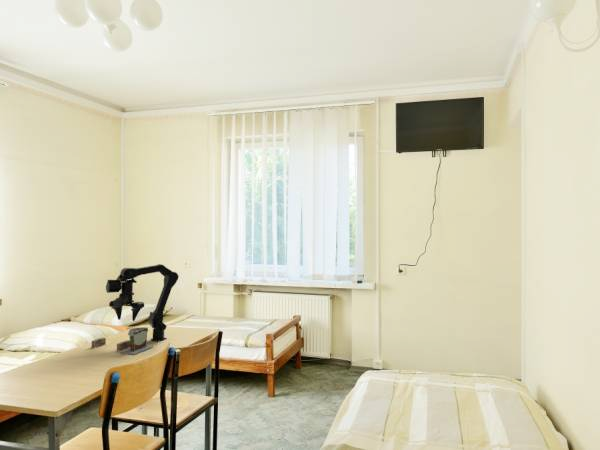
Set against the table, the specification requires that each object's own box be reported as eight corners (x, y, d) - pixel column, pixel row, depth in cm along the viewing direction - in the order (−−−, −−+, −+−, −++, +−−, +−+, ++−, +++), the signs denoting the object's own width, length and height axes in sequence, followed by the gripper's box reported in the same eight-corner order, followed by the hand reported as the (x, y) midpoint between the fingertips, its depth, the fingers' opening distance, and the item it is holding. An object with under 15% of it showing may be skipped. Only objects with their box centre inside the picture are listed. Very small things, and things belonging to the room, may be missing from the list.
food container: (138, 345, 242) (138, 326, 242) (148, 346, 240) (148, 327, 241) (122, 350, 231) (122, 331, 231) (132, 352, 229) (132, 332, 229)
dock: (102, 344, 246) (102, 337, 246) (130, 347, 240) (130, 340, 240) (91, 347, 238) (91, 340, 238) (120, 350, 233) (120, 344, 233)
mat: (138, 346, 243) (138, 344, 243) (153, 347, 240) (153, 346, 240) (119, 353, 229) (119, 352, 229) (134, 354, 226) (134, 353, 226)
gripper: (102, 292, 241) (101, 321, 241) (131, 294, 236) (131, 324, 236) (116, 289, 252) (116, 317, 252) (145, 291, 246) (144, 320, 246)
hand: (126, 320), depth 246 cm, fingers open, 9 cm apart
